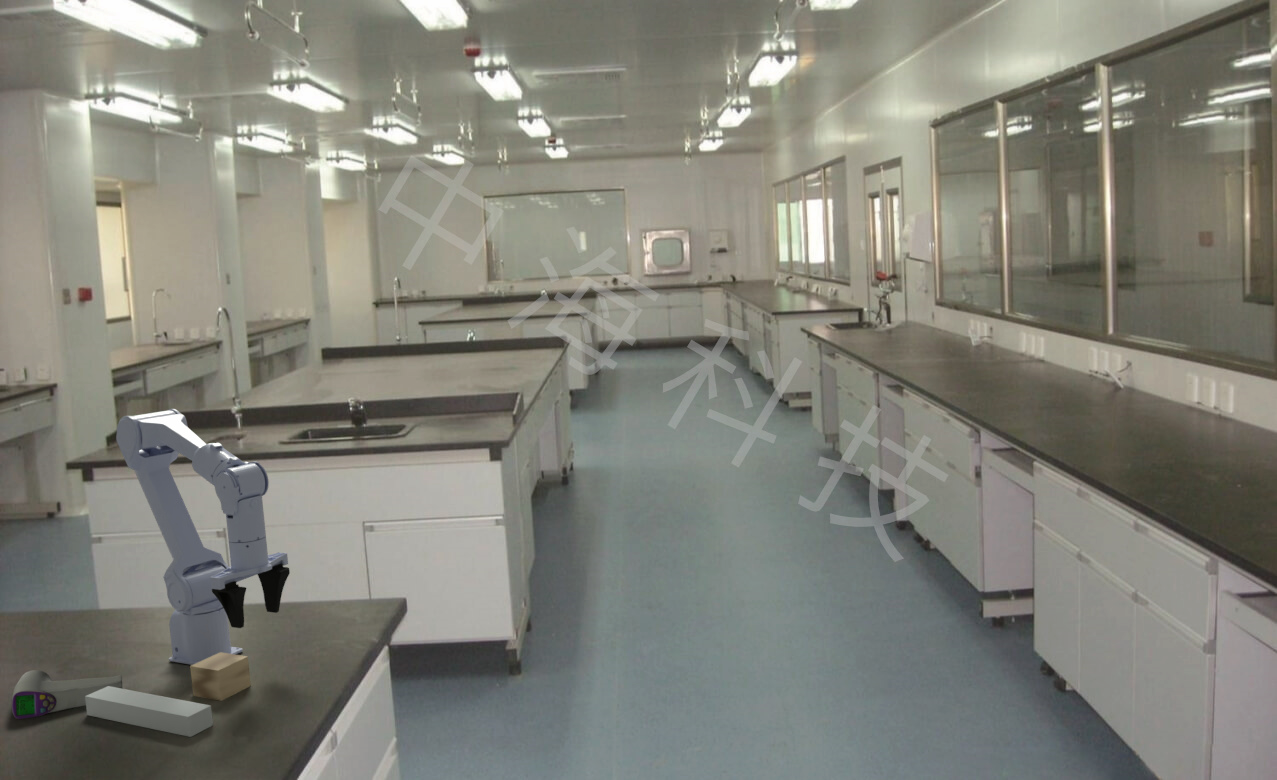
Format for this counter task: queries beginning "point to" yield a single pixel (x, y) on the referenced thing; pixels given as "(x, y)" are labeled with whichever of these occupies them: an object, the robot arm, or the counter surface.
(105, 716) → the board
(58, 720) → the counter surface
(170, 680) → the counter surface
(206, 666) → the block
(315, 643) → the counter surface
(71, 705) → the infrared thermometer
